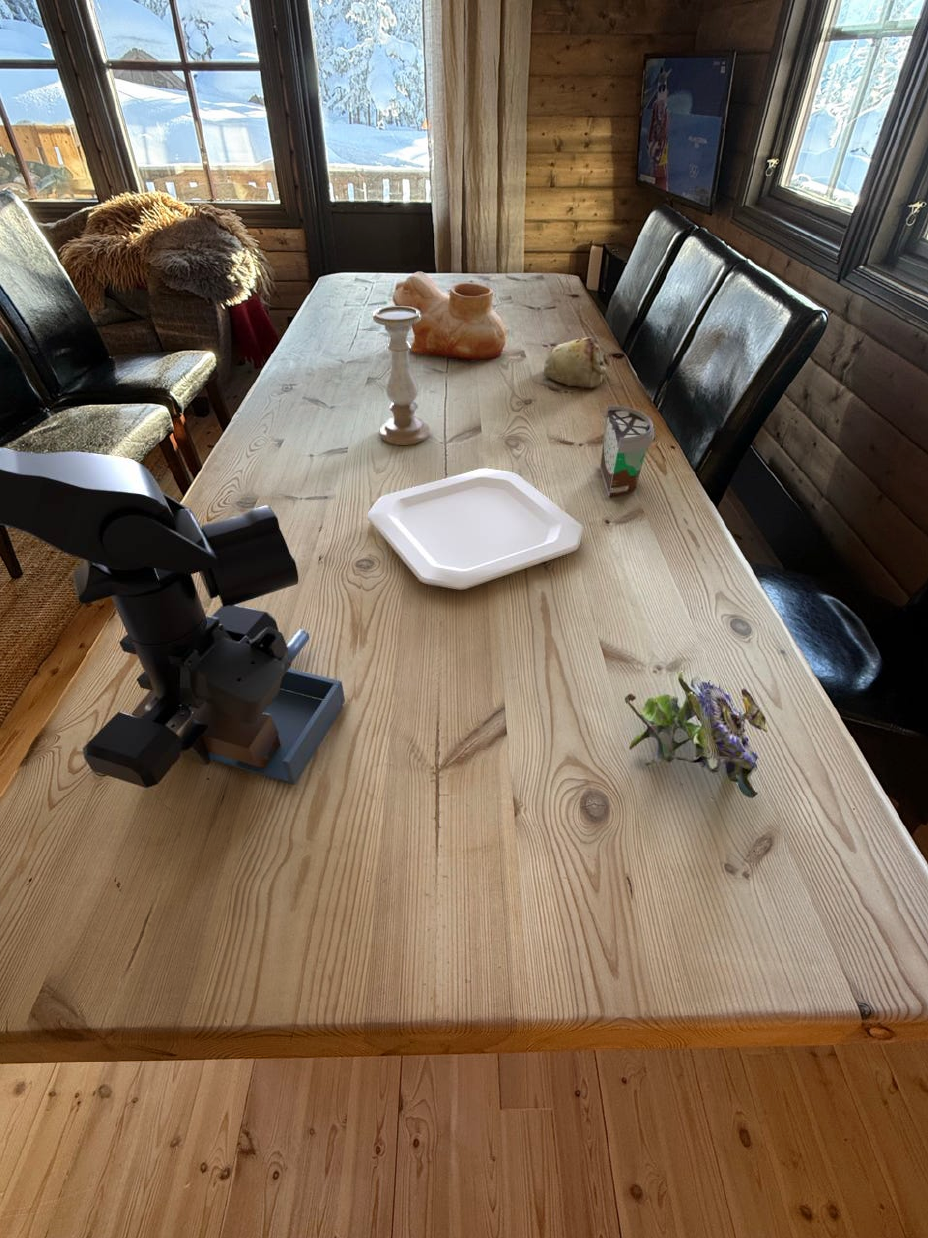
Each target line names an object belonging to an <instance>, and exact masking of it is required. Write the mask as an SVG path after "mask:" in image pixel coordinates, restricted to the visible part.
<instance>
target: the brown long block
mask: <svg viewBox="0 0 928 1238" xmlns="http://www.w3.org/2000/svg"><path fill="white" fill-rule="evenodd" d="M155 696H156V695H155V692H154V691H150V690H148V692H147V693H146V695H145V696H144V697H143V698H142V700H141V701H140V702H139V704H138V705H137V706H136V707H135V708H134V710H133V711H132V712H131V715H132V716H136V717H139V718H141V716H142V715H143V714H144V713H145V712H146V710H145V706H146V705H147V704H148V703H149V702H150V701H151V700H152V699H153V698H154V697H155ZM191 711H192V714H193V719H194V721H196V722H200V723H203V724H207V725H209V727H208V729H207V730H206V731H205V732H204V733H203V735H202V738H203V740H204V743H205V745H206V748H207V751H209V752H212V753H215V754H218V755H222V756H225V757H228V758H231V759H235V760H238V761H241V762H244V763H248V764H251V765H254V766H258V767H259V765H260V764H261V762H262V760H263V759H268V760H269V759H270V757H271V756H272V754H273V752H274V749H273V747H272V746H271V745H272V744H273V742H274V740H275V739H276V737H277V736H278V734H279V732H278V730H277V728H276V726H275V724H274V722H273V719H272V717H271V715H269V714H266V713H263V714H262V716H261V717H260V719H259V720H258V721H256V722H255V723H251V724H246V723H242V722H240V721H238V720H237V719H236V718H235V717H233V716H231V715H229V714H227V713H225V712H223V711H221V710H219V709H217V708H215V707H214V706H212V705H210V704H208V703H207V702H206V700H205V702H204V703H203V705H202V706H201V707H200V708H199V709H196V708H192V709H191Z"/></svg>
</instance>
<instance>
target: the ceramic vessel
mask: <svg viewBox="0 0 928 1238" xmlns="http://www.w3.org/2000/svg"><path fill="white" fill-rule="evenodd" d="M493 297H494V290H493V288H491V287H489V286H487V285H483V284H479V283H476V282H475V283H474V282H459V283H456V284H452V285H451V286H450V288H449V293H448V292H446V293H445V292H442V291H441V290H440V288H439V287H438V285H437V283H435V281H434V280H433V279H432V278H431V277H430V276H429V275H428V274H427V273H425V272H423V271H416V272H414V273H412V274H411V275H409V276H408V277H406V279H405V280H404V281H399V282H397V283H396V285H395V289H394V291H393V293H392V297H391V298H392V302H393V304H394V306H407V307H413V308H416V309H418V310H419V311H420V312H421V315H422V318H421V320H420V321H419V322H417V323H415V324H411V330H412V333H413V341H412V343H411V344H410V345H411V348H410V349H409V350H408V351H409V353H411V354H415V355H424V356H431V357H439V358H445V359H450V360H456V361H458V362H468V363H470V362H478V361H485V360H494V359H497V358H499V357H500V356H501V354H502V353H503V350H504V348H505V346H506V343H507V337H506V336H507V331H506V326H505V324H504V322H503V320H502V318H501V317H500V316H499V315H498V314H497V313H496V312H495V311H494V310H493V309H492V304H493Z"/></svg>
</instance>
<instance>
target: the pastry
mask: <svg viewBox="0 0 928 1238" xmlns="http://www.w3.org/2000/svg"><path fill="white" fill-rule="evenodd" d="M602 348H603V347H602V346H601V345H600V344H599V343H598V342H597V340H596V339H595V338H594V337H593V336H588V337H583V338H578V339H574V340H570V341H566V342H564V343H559V344H557V345H556V346H555V347H551V349H550V351H549V352H548V354H547V356H546V358H545V361H544V366H543V373H544V376H545V377H546V378H548V379H549V380H552V381H554V382H556V383H559V384H563V385H565V386H566V387H578V388H582V389H586V388H591V389H592V388H598V387H599V385H601V384H602V382H603V379H604V374H605V373H606V370H607V368H606V363H604V352H603V351H604V350H603V349H602Z"/></svg>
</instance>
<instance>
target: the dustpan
mask: <svg viewBox="0 0 928 1238" xmlns="http://www.w3.org/2000/svg"><path fill="white" fill-rule="evenodd" d="M309 640H310V633H309V632H308V631H307V630H305V629H298V630H297V631H296V632H295V633H294V635H293V636H292V637H291V638H290V640H288V642H286V645H287V647H288V654H287V657H288V660H289V661H290V662H291V664H292V663H293V662H294V660H295V658H297V656H298V655H299V654H300V652H301V651H302V649H303V648H304V647H305V645H306V644H307V643H308V642H309ZM345 702H346V697H345V692H344V686H343V682H342V680H340V679H339V680H338V679H335V678H331V677H326V676H323V675H319V674H315V673H311V672H307V671H302V670H299V669H295V668H291V667H290V668H289V669H288V670H287V671H286V673H285V674H284V675H283V677H282V680H281V685H280V690H279V693H278V695H277V696H276V697H275V698H274V699H273V700H272V702H271V703H270V704H269V706H268V707H267V708H266V710H265V711H264V713H266V714H269V715H271V717H272V719H273V722H274V724H275V726H276V728H277V730H278V732H279V734H278V737H279V740H280V743H281V745H280V746H279V748H278V749H277V750H276V752H275V753H274V755H273V756H272V757H271V759H270V760H269V762H268V763H267V765H266V766H265V767H264V768H262V767H258V766H254V765H251V764H248V763H244V762H241V761H238V760H235V759H231V758H228V757H225V756H222V755H218V754H215V753H212V752H209V751H208V752H209V756H210V761H213V762H217V763H220V764H223V765H227V766H231V767H233V768H237V769H240V770H244V771H248V772H251V773H254V774H258V775H261V776H264V777H268V778H271V779H274V780H278V781H281V782H284V783H287V784H291V785H294V786H295V785H296V784H297V782H298V780H299V779H300V777H301V775H302V774H303V772H304V771H305V769H306V767H307V766H308V764H309V763H310V761H311V759H312V758H313V756H314V754H315V753H316V751H317V750H318V749H319V747H320V745H321V743H322V742H323V740H324V738H325V737H326V735H327V734H328V732H329V731H330V729H331V728H332V727H333V726H332V725H334V723H335V721H336V719H337V718H338V716H339V714H341V711H342V710H343V708H344V704H345Z"/></svg>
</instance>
